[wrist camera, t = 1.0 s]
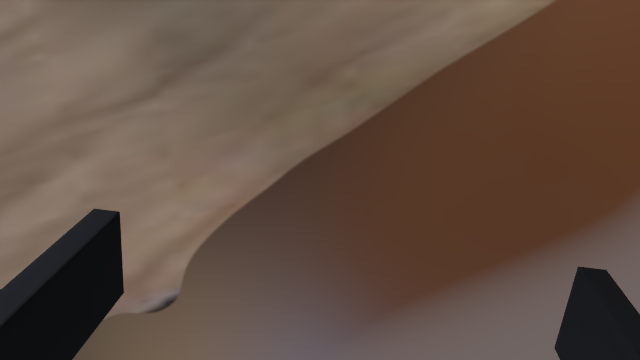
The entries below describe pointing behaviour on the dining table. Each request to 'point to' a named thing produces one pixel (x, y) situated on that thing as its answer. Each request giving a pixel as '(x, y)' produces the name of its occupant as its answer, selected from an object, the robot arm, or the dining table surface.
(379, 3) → the dining table surface
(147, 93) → the dining table surface
